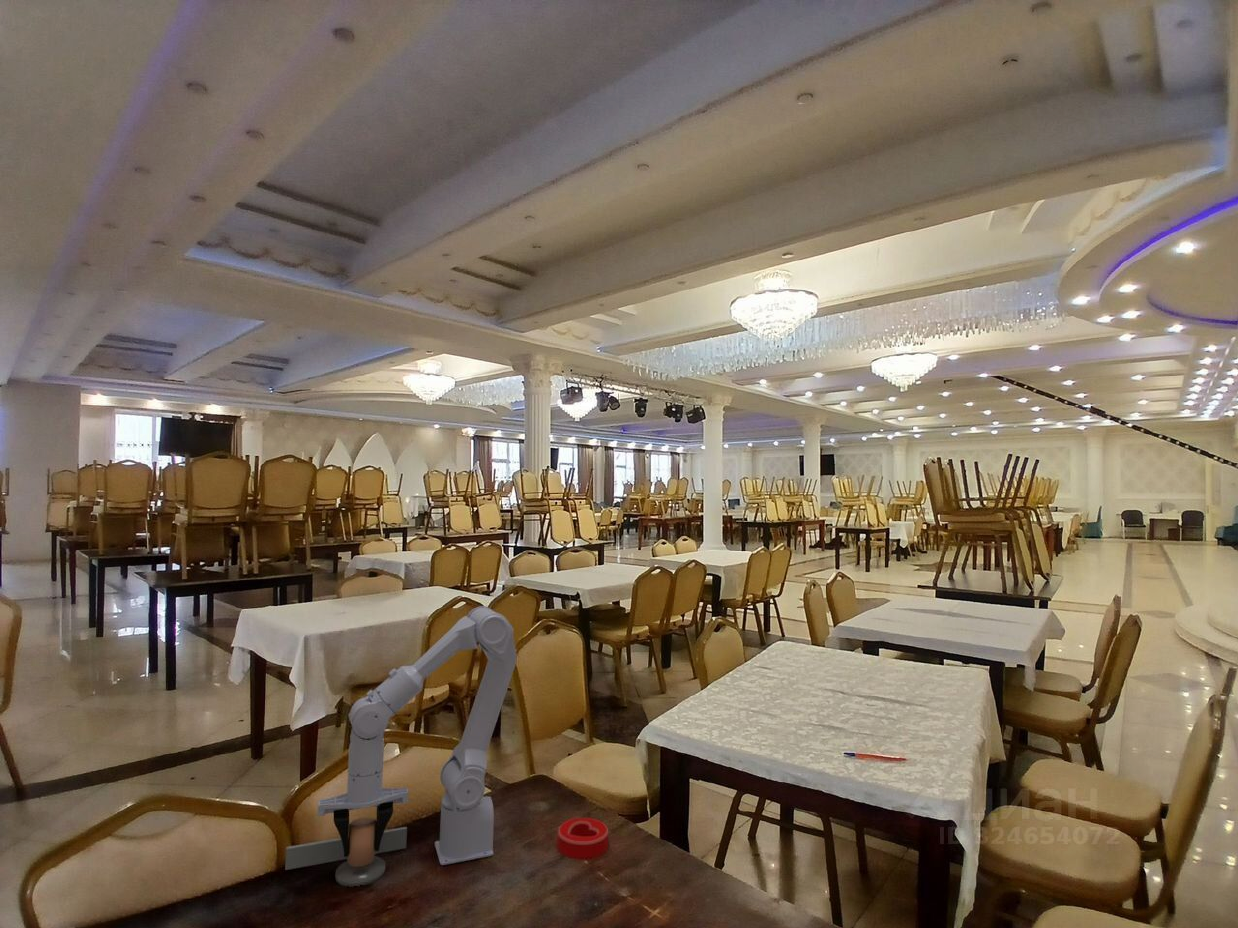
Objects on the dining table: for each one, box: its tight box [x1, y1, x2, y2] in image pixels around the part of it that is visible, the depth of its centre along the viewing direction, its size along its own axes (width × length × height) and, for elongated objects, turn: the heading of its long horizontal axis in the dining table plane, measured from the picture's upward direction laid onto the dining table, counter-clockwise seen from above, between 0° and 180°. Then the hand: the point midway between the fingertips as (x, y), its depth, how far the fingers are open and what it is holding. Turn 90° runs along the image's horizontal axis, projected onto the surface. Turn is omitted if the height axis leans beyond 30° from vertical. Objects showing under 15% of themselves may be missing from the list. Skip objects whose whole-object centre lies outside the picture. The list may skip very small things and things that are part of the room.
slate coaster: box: [334, 855, 386, 888], centre depth 111 cm, size 8×8×1 cm
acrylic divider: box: [284, 826, 408, 871], centre depth 115 cm, size 20×1×4 cm, turn 114°
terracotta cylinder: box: [346, 817, 376, 867], centre depth 111 cm, size 4×4×6 cm
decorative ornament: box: [556, 817, 609, 860], centre depth 122 cm, size 10×10×3 cm
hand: (361, 850), depth 111 cm, fingers closed on terracotta cylinder, 4 cm apart
